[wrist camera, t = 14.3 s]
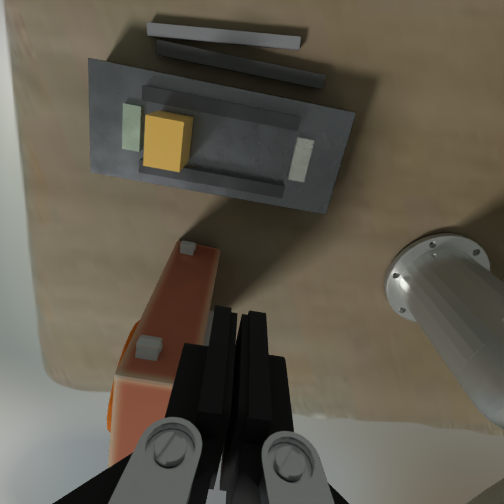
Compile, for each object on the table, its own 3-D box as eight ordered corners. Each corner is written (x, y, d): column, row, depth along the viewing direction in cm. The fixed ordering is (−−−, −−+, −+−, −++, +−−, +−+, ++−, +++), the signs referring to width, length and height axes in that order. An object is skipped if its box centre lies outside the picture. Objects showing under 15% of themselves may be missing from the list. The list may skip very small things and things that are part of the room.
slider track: (345, 109, 35) (359, 113, 30) (318, 202, 39) (327, 218, 35) (105, 60, 33) (81, 57, 29) (106, 163, 38) (85, 175, 33)
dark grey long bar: (323, 75, 34) (326, 75, 33) (320, 88, 34) (322, 89, 33) (159, 40, 32) (156, 39, 31) (158, 55, 33) (155, 54, 32)
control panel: (159, 327, 47) (172, 228, 41) (209, 336, 48) (230, 240, 42) (96, 494, 28) (102, 358, 22) (181, 505, 29) (212, 376, 22)
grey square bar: (299, 37, 32) (301, 36, 31) (298, 50, 33) (299, 49, 32) (149, 23, 32) (146, 22, 31) (150, 36, 32) (147, 35, 31)
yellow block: (193, 116, 32) (184, 122, 27) (189, 160, 33) (179, 172, 29) (160, 110, 31) (145, 114, 27) (157, 154, 33) (143, 165, 29)
